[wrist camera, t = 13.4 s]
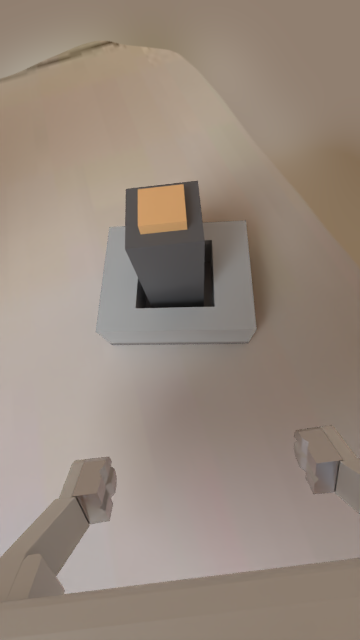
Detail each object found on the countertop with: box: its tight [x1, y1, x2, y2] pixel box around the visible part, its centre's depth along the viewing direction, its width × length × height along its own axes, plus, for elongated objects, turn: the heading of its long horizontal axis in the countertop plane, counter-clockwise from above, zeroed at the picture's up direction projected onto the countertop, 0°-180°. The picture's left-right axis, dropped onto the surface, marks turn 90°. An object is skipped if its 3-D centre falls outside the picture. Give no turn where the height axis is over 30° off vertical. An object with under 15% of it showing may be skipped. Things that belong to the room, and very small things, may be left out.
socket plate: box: [96, 221, 257, 345], centre depth 21 cm, size 11×9×4 cm
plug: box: [125, 181, 205, 308], centre depth 17 cm, size 4×4×10 cm
